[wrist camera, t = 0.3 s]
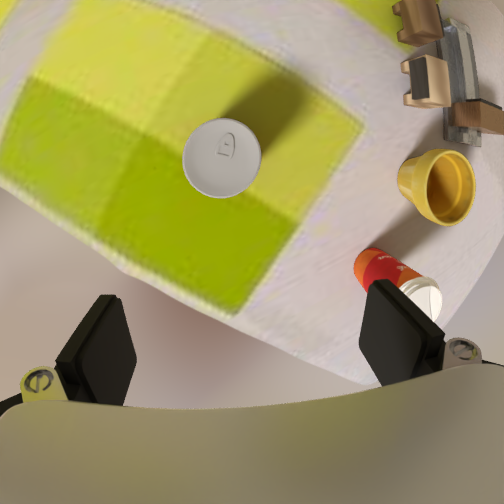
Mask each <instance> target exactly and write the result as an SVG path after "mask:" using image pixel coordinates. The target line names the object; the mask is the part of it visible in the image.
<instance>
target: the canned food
mask: <svg viewBox="0 0 504 504" xmlns="http://www.w3.org/2000/svg"><path fill="white" fill-rule="evenodd" d="M260 164H261V149H260V145H259V142H258V140H257V137H256V136H255V134H254V133H253V132H252V130H250V129H249V128H248V127H247V126H246V125H245V124H243V123H241V122H239V121H237V120H234V119H229V118H217V119H213V120H210V121H207V122H205V123H203V124H202V125H200V126H199V127H198V128H196V129H195V131H194V132H193V133H192V134H191V135H190V137H189V138H188V140H187V142H186V145H185V147H184V151H183V168H184V172H185V175H186V177H187V179H188V181H189V182H190V183H191V185H192V186H193V187H194V188H195V189H196V190H197V191H199V192H201V193H202V194H204V195H207V196H209V197H214V198H228V197H231V196H235V195H237V194H239V193H241V192H242V191H244V190H245V189H246V188H248V186H249V185H250V184H251V183H252V182H253V181H254V179H255V177H256V176H257V174H258V171H259V169H260Z"/></svg>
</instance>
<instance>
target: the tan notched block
mask: <svg viewBox="0 0 504 504" xmlns="http://www.w3.org/2000/svg"><path fill="white" fill-rule="evenodd" d="M401 72H402V73H406V74H410V86H411V94H406V95H403V99H404V105H407V106H412V107H417V108H422V109H428V108H440V107H451V95H450V83H449V74H448V65H447V61H444V60H441V59H439V58H436V57H433V56H430V55H427V54H426V55H423V56H420V57H417V58H414V59H411V60H408V61H406V62H403V63H401Z"/></svg>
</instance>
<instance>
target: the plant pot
mask: <svg viewBox="0 0 504 504" xmlns="http://www.w3.org/2000/svg"><path fill="white" fill-rule="evenodd" d="M397 181H398V187H399V190H400V192H401V193H402V195H403V196H404V197H405V198H407V199H408V200H409V201H411V202H412V203H413V204H414V205H415V206H416V208H417V209H418V211H419V212H420V213H421V214H422V215H423V216H424V217H425V218H427V219H429V220H431V221H433V222H435V223H437V224H440V225H443V226H453V225H456V224H458V223H459V222H461V221H462V220H463V219H464V218H465V217H466V216H467V215H468V213H469V211H470V209H471V207H472V205H473V202H474V198H475V191H476V182H475V175H474V172H473V169H472V166H471V164H470V163H469V161H468V160H467V158H466V157H465V156H464V155H463V154H461V153H460V152H458V151H455V150H450V149H433V150H430V151H428V152H426V153H425V154H423V155H422V156H419V157H416V158H411V159H408V160H407V161H405V162H404V163H403V164H402V166H401V167H400V169H399V172H398V178H397Z"/></svg>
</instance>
